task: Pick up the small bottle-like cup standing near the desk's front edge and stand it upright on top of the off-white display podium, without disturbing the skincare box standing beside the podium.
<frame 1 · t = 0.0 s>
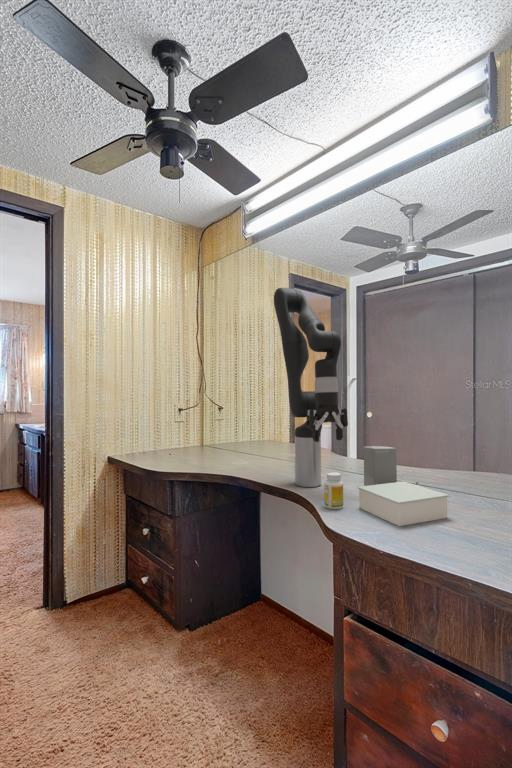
hand: (327, 440, 128), 17 cm above the table, tool pointing down, fingers open, 8 cm apart
skincare box: (380, 497, 123), on the table
podium: (401, 512, 108), on the table
supplement bottle: (333, 507, 114), on the table
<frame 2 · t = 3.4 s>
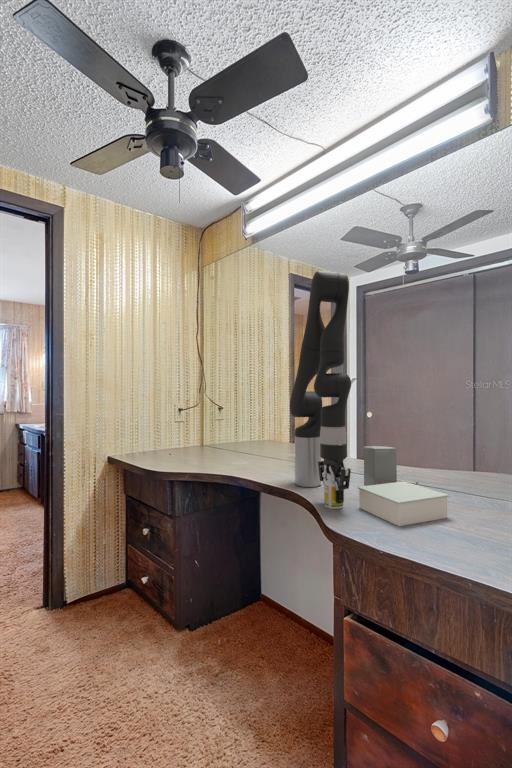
hand: (333, 499, 114), 2 cm above the table, tool pointing down, fingers closed on supplement bottle, 5 cm apart
supplement bottle: (333, 507, 114), on the table, touching gripper
everything else where it was.
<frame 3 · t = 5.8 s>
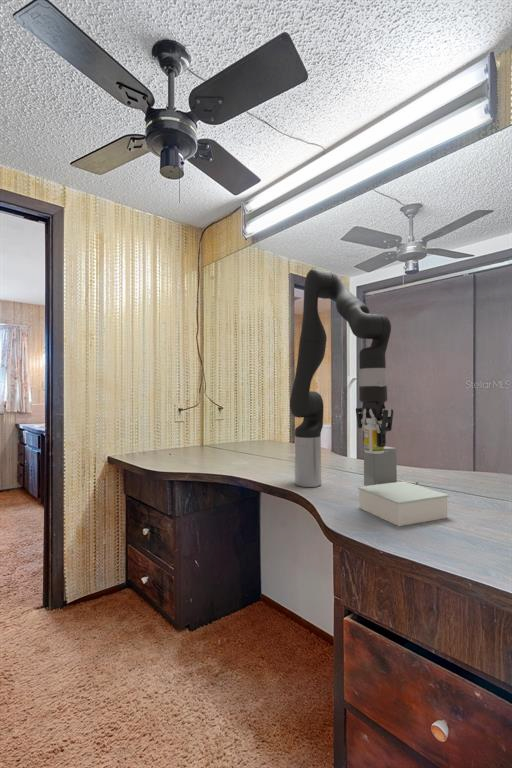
hand: (374, 445, 110), 18 cm above the table, tool pointing down, fingers closed on supplement bottle, 5 cm apart
supplement bottle: (374, 452, 110), point 16 cm above the table, touching gripper
everything else where it was.
when the fingers open (9 cm above the table, at t = 8.7 s): supplement bottle drops 1 cm, resting on podium.
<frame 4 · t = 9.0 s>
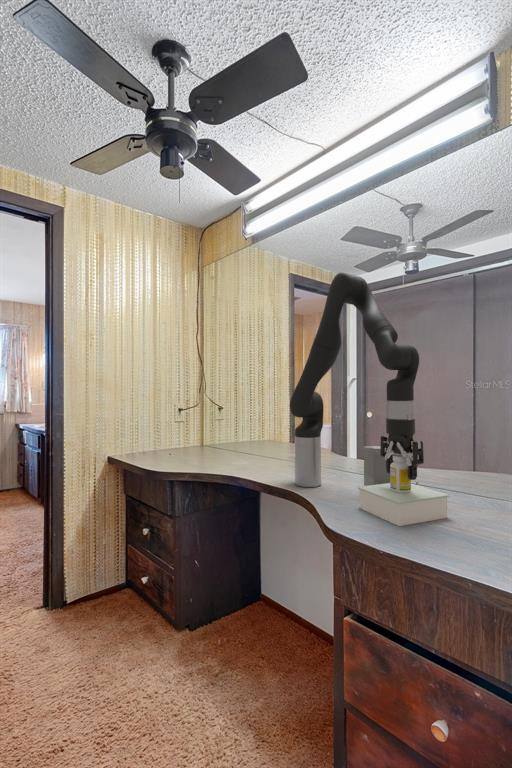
hand: (401, 476, 108), 10 cm above the table, tool pointing down, fingers open, 8 cm apart
supplement bottle: (400, 491, 108), point 6 cm above the table, touching podium
everything else where it was.
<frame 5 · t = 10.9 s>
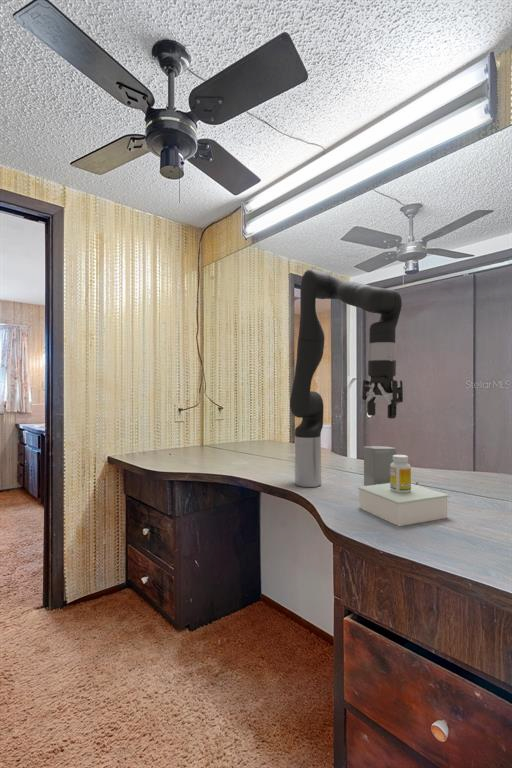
hand: (381, 416, 111), 26 cm above the table, tool pointing down, fingers open, 8 cm apart
nothing on the table moved.
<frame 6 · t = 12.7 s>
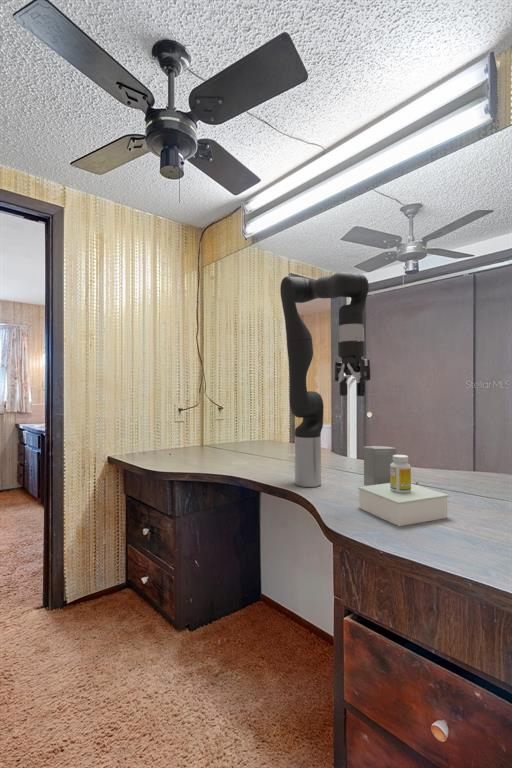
hand: (351, 395, 115), 32 cm above the table, tool pointing down, fingers open, 8 cm apart
nothing on the table moved.
at the end: supplement bottle inside the target area on the podium (0.2 cm from its centre), point 5.8 cm above the podium's base; supplement bottle tilted 0°; skincare box moved 0.2 cm from its start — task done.
